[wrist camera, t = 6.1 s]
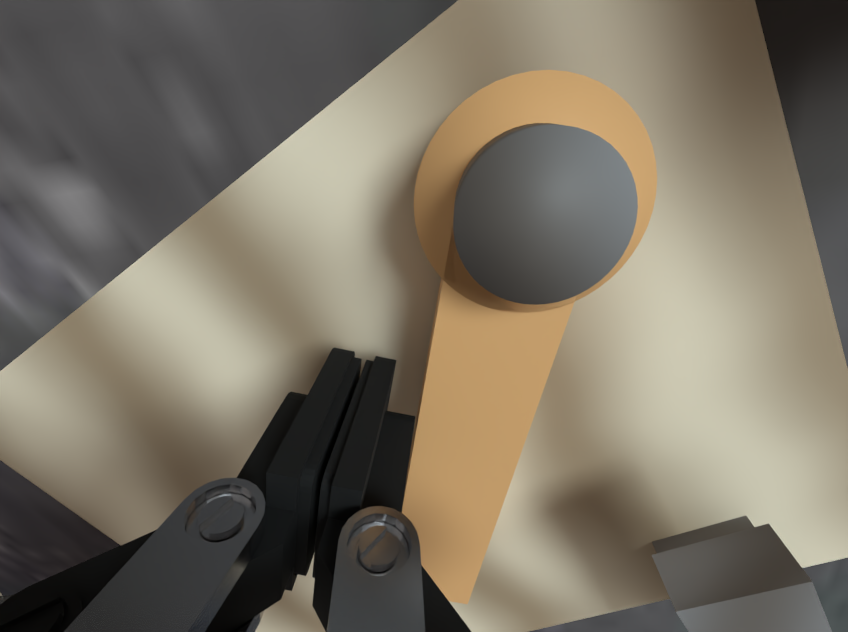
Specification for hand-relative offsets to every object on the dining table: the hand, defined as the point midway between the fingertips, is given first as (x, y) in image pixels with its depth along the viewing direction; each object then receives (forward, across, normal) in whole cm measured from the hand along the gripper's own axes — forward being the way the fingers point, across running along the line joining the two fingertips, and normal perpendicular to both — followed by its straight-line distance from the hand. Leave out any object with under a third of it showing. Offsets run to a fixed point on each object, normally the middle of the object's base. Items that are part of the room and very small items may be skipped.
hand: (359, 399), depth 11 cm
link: (+1, -3, -1) cm, 3 cm away
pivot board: (+3, -2, +4) cm, 5 cm away
